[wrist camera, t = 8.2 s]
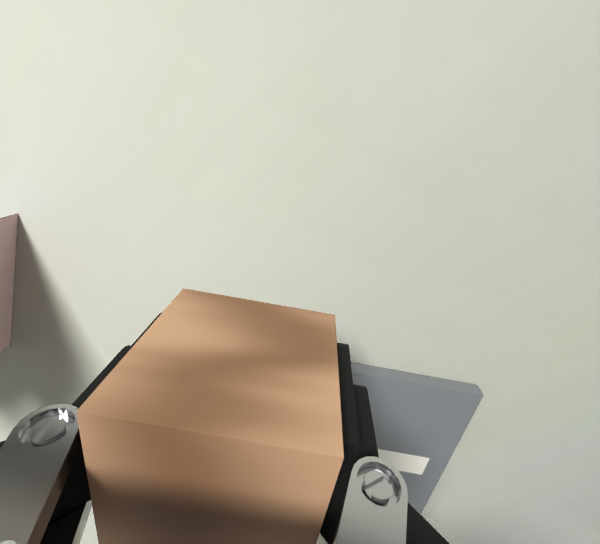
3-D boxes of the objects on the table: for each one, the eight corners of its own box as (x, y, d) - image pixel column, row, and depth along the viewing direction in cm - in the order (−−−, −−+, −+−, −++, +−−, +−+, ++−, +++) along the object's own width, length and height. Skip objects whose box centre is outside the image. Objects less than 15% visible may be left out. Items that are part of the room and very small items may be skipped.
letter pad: (477, 385, 23) (483, 395, 22) (410, 515, 30) (413, 527, 29) (260, 346, 23) (257, 355, 23) (241, 484, 30) (238, 496, 29)
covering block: (335, 315, 11) (343, 457, 6) (308, 423, 13) (300, 591, 8) (183, 288, 10) (75, 412, 6) (181, 401, 13) (100, 557, 8)
